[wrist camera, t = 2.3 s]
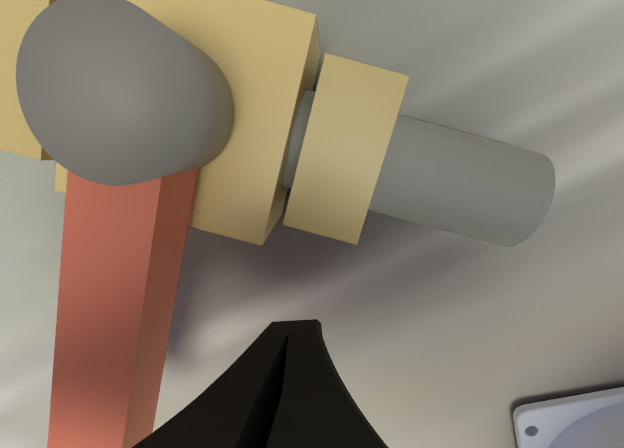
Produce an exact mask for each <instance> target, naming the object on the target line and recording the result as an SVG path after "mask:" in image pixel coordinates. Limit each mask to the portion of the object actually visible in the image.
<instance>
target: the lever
mask: <svg viewBox="0 0 624 448" xmlns="http://www.w3.org/2000/svg"><path fill="white" fill-rule="evenodd" d="M16 87H17V94H18V99H19V103H20V106H21V110H22V112H23V115H24V117H25V120H26V122H27V124H28V126H29V128H30V130H31V132H32V133H33V135H34V136H35V138H36V139H37V141H38V142H39V144H40V145H41V146H42V147H43V149H44V150H45V151H46V152H47V153H48V154H49V155H50V156H51V157H52V158H53V159H54V160H55V161H56V162H57V163H59V164H60V165H61V166H63V167H64V168H65V169H67V170H68V172H67V185H66V199H65V213H64V227H63V240H62V254H61V268H60V282H59V295H58V309H57V323H56V337H55V350H54V364H53V378H52V392H51V405H50V419H49V433H48V446H47V448H131V447H133V446H134V445H136V444H137V443H139V442H140V441H141V440H143V439H144V438H146V437H147V436H149V435H150V434H152V431H153V425H154V419H155V414H156V408H157V402H158V396H159V391H160V385H161V379H162V373H163V367H164V362H165V356H166V350H167V344H168V338H169V333H170V327H171V321H172V315H173V310H174V304H175V298H176V292H177V286H178V281H179V275H180V269H181V263H182V257H183V252H184V246H185V240H186V234H187V228H188V223H189V217H190V211H191V205H192V200H193V194H194V188H195V182H196V176H197V171H198V169H199V168H201V167H203V166H205V165H207V164H208V163H210V162H211V161H212V160H214V159H215V158H216V157H217V156H218V155H219V153H220V152H221V151H222V150H223V148H224V146H225V145H226V143H227V141H228V139H229V136H230V134H231V130H232V126H233V119H234V107H233V99H232V95H231V91H230V88H229V85H228V83H227V81H226V79H225V77H224V75H223V73H222V72H221V70H220V69H219V67H218V66H217V65H216V64H215V62H214V61H213V60H212V59H211V58H210V57H209V56H208V55H206V54H205V53H204V52H203V51H201V50H200V49H198V48H197V47H196V46H194V45H193V44H191V43H190V42H188V41H187V40H186V39H184V38H183V37H181V36H180V35H178V34H177V33H176V32H174V31H173V30H171V29H170V28H169V27H167V26H166V25H164V24H163V23H161V22H160V21H159V20H157V19H156V18H154V17H153V16H151V15H150V14H149V13H147V12H146V11H144V10H143V9H141V8H140V7H138V6H137V5H135V4H133V3H131V2H129V1H127V0H58V1H56V2H54V3H52V4H51V5H50V6H48V7H47V8H45V9H44V10H43V11H42V12H41V13H40V14H39V15H38V16H37V17H36V18H35V19H34V21H33V22H32V23H31V24H30V26H29V28H28V29H27V31H26V33H25V35H24V37H23V39H22V42H21V45H20V47H19V52H18V56H17V63H16Z"/></svg>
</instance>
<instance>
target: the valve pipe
mask: <svg viewBox="0 0 624 448" xmlns="http://www.w3.org/2000/svg"><path fill="white" fill-rule="evenodd" d="M56 1H58V0H0V150H4V151H8V152H11V153H15V154H19V155H23V156H26V157H30V158H34V159H38V160H53V158H52V157H51V156H50V155H49V154H48V153H47V152H46V151H45V150H44V149H43V147H42V146H41V145H40V144H39V142H38V141H37V139H36V138H35V136H34V135H33V133H32V132H31V130H30V128H29V126H28V124H27V122H26V120H25V117H24V115H23V112H22V110H21V106H20V103H19V99H18V94H17V87H16V63H17V56H18V52H19V47H20V45H21V42H22V39H23V37H24V35H25V33H26V31H27V29H28V28H29V26H30V24H31V23H32V22H33V21H34V19H35V18H36V17H37V16H38V15H39V14H40V13H41V12H42V11H43V10H44V9H45V8H47V7H48V6H50V5H51V4H52V3H54V2H56ZM127 1H129V2H131V3H133V4H135V5H137V6H138V7H140V8H141V9H143V10H144V11H146V12H147V13H149V14H150V15H151V16H153V17H154V18H156V19H157V20H159V21H160V22H161V23H163V24H164V25H166V26H167V27H169V28H170V29H171V30H173V31H174V32H176V33H177V34H178V35H180V36H181V37H183V38H184V39H186V40H187V41H188V42H190V43H191V44H193V45H194V46H196V47H197V48H198V49H200V50H201V51H203V52H204V53H205V54H206V55H208V56H209V57H210V58H211V59H212V60H213V61H214V62H215V64H216V65H217V66H218V67H219V69H220V70H221V72H222V73H223V75H224V77H225V79H226V81H227V83H228V85H229V88H230V91H231V95H232V99H233V107H234V119H233V126H232V130H231V134H230V136H229V139H228V141H227V143H226V145H225V146H224V148H223V150H222V151H221V152H220V153H219V155H218V156H217V157H216V158H215V159H214V160H212V161H211V162H210V163H208V164H207V165H205V166H203V167H201V168H199V169H198V171H197V176H196V182H195V188H194V194H193V200H192V205H191V211H190V217H189V223H188V226H189V227H193V228H197V229H201V230H204V231H208V232H212V233H216V234H219V235H223V236H227V237H231V238H234V239H238V240H242V241H246V242H249V243H253V244H257V245H261V246H262V245H263V243H264V241H265V240H266V238H267V237H268V235H269V234H270V232H271V230H272V229H273V227H274V226H275V224H276V223H277V221H278V219H279V218H280V216H281V215H282V211H283V207H284V203H285V199H286V195H287V191H288V188H289V189H291V193H290V197H289V201H288V205H287V209H286V213H285V217H284V221H283V225H285V226H288V227H292V228H296V229H300V230H303V231H307V232H311V233H315V234H318V235H322V236H326V237H330V238H333V239H337V240H341V241H344V242H348V243H352V244H356V245H357V243H358V240H359V237H360V233H361V230H362V227H363V224H364V221H365V217H366V214H367V211H368V210H371V211H374V212H378V213H382V214H386V215H389V216H393V217H397V218H401V219H404V220H408V221H412V222H415V223H419V224H423V225H427V226H430V227H434V228H438V229H441V230H445V231H449V232H453V233H456V234H460V235H464V236H467V237H471V238H475V239H479V240H482V241H486V242H490V243H493V244H497V245H501V246H505V247H509V246H514V245H517V244H519V243H521V242H523V241H524V240H525V239H527V238H528V237H529V236H530V235H531V234H532V233H533V232H534V231H535V230H536V229H537V227H538V226H539V225H540V223H541V222H542V220H543V219H544V217H545V215H546V213H547V211H548V209H549V206H550V204H551V201H552V198H553V194H554V189H555V171H554V167H553V164H552V162H551V161H550V160H549V158H548V157H546V156H545V155H543V154H540V153H537V152H533V151H529V150H526V149H522V148H518V147H515V146H511V145H507V144H504V143H500V142H496V141H493V140H489V139H486V138H482V137H478V136H475V135H471V134H467V133H464V132H460V131H456V130H453V129H449V128H445V127H442V126H438V125H435V124H431V123H427V122H424V121H420V120H416V119H413V118H409V117H405V116H402V115H398V112H399V109H400V106H401V103H402V99H403V96H404V93H405V90H406V87H407V83H408V80H409V77H410V76H408V75H404V74H401V73H397V72H393V71H390V70H386V69H382V68H379V67H375V66H372V65H368V64H364V63H361V62H357V61H354V60H350V59H346V58H343V57H339V56H335V55H332V54H328V53H325V56H324V60H323V64H322V68H321V72H320V76H319V80H318V85H317V89H316V92H314V91H312V89H313V85H314V81H315V77H316V73H317V68H318V64H319V60H320V46H319V36H318V26H317V16H316V14H313V13H309V12H306V11H302V10H299V9H295V8H291V7H288V6H284V5H281V4H277V3H273V2H270V1H266V0H127ZM67 172H68V170H67V169H65V168H64V167H63V166H61V165H60V164H59V163H57V162H56V174H55V189H54V191H58V192H61V193H65V194H66V185H67Z"/></svg>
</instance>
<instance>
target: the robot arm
mask: <svg viewBox="0 0 624 448" xmlns="http://www.w3.org/2000/svg"><path fill="white" fill-rule="evenodd" d="M513 421H514V427H515V434H516V440H517V446H518V448H624V387H620V388H614V389H609V390H603V391H597V392H592V393H586V394H581V395H575V396H569V397H564V398H558V399H552V400H547V401H541V402H535V403H530V404H524V405H521V406H519V407H517V408H516V409H515V411H514V412H513ZM529 426H530V427H529ZM527 427H529V428H527ZM131 448H388V447H387V445H386V444H385V443H384V442H383V440H382V439H381V438H380V436H379V435H378V434H377V433H376V431H375V430H374V429H373V427H372V426H371V425H370V423H369V422H368V420H367V419H366V418H365V416H364V415H363V413H362V412H361V410H360V409H359V408H358V406H357V405H356V403H355V401H354V400H353V398H352V397H351V395H350V393H349V392H348V390H347V388H346V387H345V385H344V383H343V381H342V380H341V378H340V376H339V374H338V372H337V370H336V368H335V366H334V364H333V362H332V360H331V358H330V355H329V353H328V351H327V348H326V346H325V343H324V340H323V337H322V329H321V323H320V322H319V321H318V320H317V319H314V320H297V321H279V322H272V323H271V324H270V325H269V326H268V327H267V328H266V329H265V330H264V331H263V332H262V333H261V334H260V335H259V337H258V338H257V339H256V340H255V341H254V342H253V343H252V344H251V345H250V346H249V347H248V349H247V350H246V351H245V352H244V353H243V354H242V355H241V356H240V357H239V358H238V359H237V360H236V361H235V362H234V363H233V364H232V365H231V366H230V367H229V368H228V369H227V370H226V371H225V372H224V373H223V374H222V375H221V376H220V377H219V378H218V379H217V380H215V381H214V382H213V383H212V384H211V385H210V386H209V387H208V388H207V389H206V390H205V391H204V392H203V393H202V394H200V395H199V396H198V397H197V398H196V399H195V400H193V401H192V402H191V403H190V404H189V405H188V406H186V407H185V408H184V409H183V410H181V411H180V412H179V413H178V414H176V415H175V416H174V417H173V418H171V419H170V420H169V421H167V422H166V423H165V424H164V425H162V426H161V427H160V428H158V429H157V430H156V431H154V432H153V433H152V434H150V435H149V436H147V437H146V438H144V439H143V440H141V441H140V442H139V443H137V444H136V445H134V446H133V447H131Z"/></svg>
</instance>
